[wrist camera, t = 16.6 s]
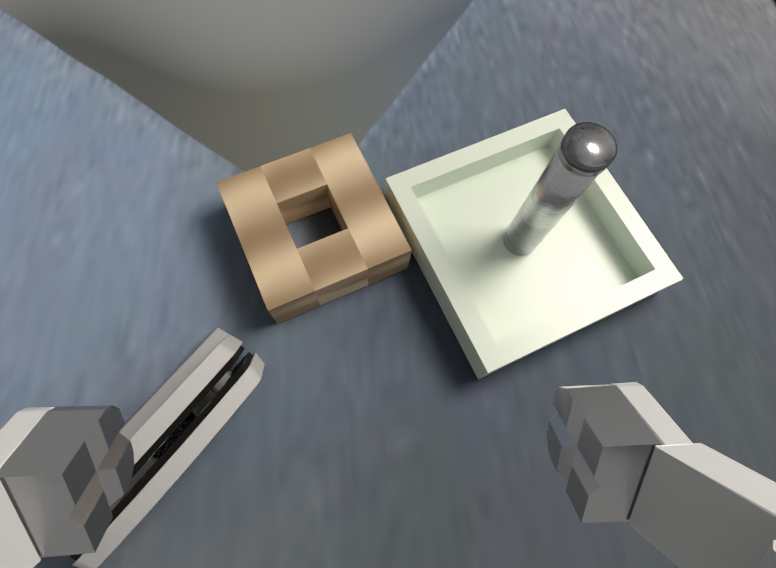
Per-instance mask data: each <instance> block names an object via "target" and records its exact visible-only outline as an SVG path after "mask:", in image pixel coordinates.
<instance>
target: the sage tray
mask: <svg viewBox="0 0 776 568" xmlns="http://www.w3.org/2000/svg"><path fill="white" fill-rule="evenodd" d="M573 125H575V122H574V121H573V119H572V118H571V116H570V115H569V114H568V112H567V111H566V109H563V110H561V111H558V112H556V113H553V114H550V115H548V116H545V117H543V118H540V119H538V120H535V121H532V122H530V123H527V124H525V125H522V126H520V127H517V128H514V129H512V130H509V131H507V132H504V133H502V134H499V135H496V136H494V137H491V138H489V139H486V140H483V141H481V142H478V143H476V144H473V145H471V146H468V147H465V148H463V149H460V150H458V151H455V152H453V153H450V154H447V155H445V156H442V157H440V158H437V159H435V160H432V161H429V162H427V163H424V164H422V165H419V166H417V167H414V168H411V169H409V170H406V171H404V172H401V173H399V174H396V175H393V176H391V177H388V178H386V182H385V200H386V202H387V204H388V206H389V207H390V209H391V211H392V213H393V215H394V217H395V219H396V221H397V223H398V225H399V227H400V229H401V231H402V233H403V234H404V236H405V238H406V240H407V242H408V244H409V246H410V248H411V250H412V253H413V255H414V257H415V259H416V261H417V263H418V265H419V266H420V268H421V270H422V272H423V274H424V276H425V278H426V280H427V282H428V284H429V286H430V288H431V290H432V292H433V294H434V295H435V297H436V299H437V301H438V303H439V305H440V307H441V309H442V311H443V313H444V315H445V317H446V319H447V321H448V322H449V324H450V326H451V328H452V330H453V332H454V334H455V336H456V338H457V340H458V342H459V344H460V346H461V348H462V349H463V351H464V353H465V355H466V357H467V359H468V361H469V363H470V365H471V367H472V369H473V371H474V373H475V375H476V377H477V378H478V379H480V378H482V377H484V376H487V375H489V374H491V373H493V372H495V371H497V370H499V369H501V368H503V367H505V366H507V365H509V364H511V363H513V362H515V361H517V360H520V359H522V358H524V357H526V356H528V355H530V354H532V353H534V352H536V351H538V350H540V349H542V348H544V347H546V346H548V345H551V344H553V343H555V342H557V341H559V340H561V339H563V338H565V337H567V336H569V335H571V334H573V333H575V332H577V331H579V330H582V329H584V328H586V327H588V326H590V325H592V324H594V323H596V322H598V321H600V320H602V319H604V318H606V317H608V316H610V315H613V314H615V313H617V312H619V311H621V310H623V309H625V308H627V307H629V306H631V305H633V304H635V303H637V302H639V301H641V300H643V299H646V298H648V297H650V296H652V295H654V294H656V293H658V292H660V291H662V290H664V289H665V288H667V287H669V286H671V285H673V284H675V283H676V282H678V281H680V280H682V279H683V278H682V276H681V275H680V273H679V272H678V270H677V269H676V268H675V266H674V265H673V263H672V262H671V260H670V259H669V258H668V256H667V255H666V253H665V252H664V250H663V249H662V247H661V246H660V245H659V243H658V242H657V240H656V239H655V237H654V236H653V234H652V233H651V232H650V230H649V229H648V227H647V226H646V224H645V223H644V222H643V220H642V219H641V217H640V216H639V214H638V213H637V211H636V210H635V209H634V207H633V206H632V204H631V203H630V201H629V200H628V198H627V197H626V196H625V194H624V193H623V191H622V190H621V188H620V187H619V186H618V184H617V183H616V181H615V180H614V178H613V177H612V175H611V174H610V173H609V171H608V170H607V168H606V169H605V170H604V171H603V172H602V173H601V174H599V175H598V176H597V177H596V179H595V180H594V181H593V182H592V183H591V184H590V186H589V187H588V188H587V189H586V190H585V191H584V193H583V194H582V195H581V196H580V197H579V199H578V200H577V201H576V202H575V203H574V204H573V206H572V207H571V208H570V209H569V210H568V211H567V213H566V214H565V215H564V216H563V217H562V219H561V220H560V221H559V222H558V223H557V224H556V226H555V227H554V228H553V229H552V230H551V231H550V233H549V234H548V235H547V236H546V237H545V239H544V240H543V241H542V242H541V243H540V244H539V246H538V247H537V248H536V249H535V250H534V251H533V252H532V253H531V254H529V255H527V256H517V255H514V254H512V253H511V252H509V251H508V250H507V248H506V247H505V245H504V242H503V235H504V233H505V231H506V229H507V228H508V226H509V225H510V223H511V221H512V220H513V218H514V217H515V215H516V214H517V212H518V210H519V209H520V207H521V206H522V204H523V203H524V201H525V199H526V198H527V196H528V195H529V193H530V192H531V190H532V188H533V187H534V185H535V184H536V182H537V181H538V179H539V177H540V176H541V174H542V173H543V171H544V170H545V168H546V166H547V165H548V163H549V162H550V160H551V159H552V157H553V156H554V154H555V152H556V151H557V149H558V146H559V143H560V142H561V140H562V138H563V137H564V135H565V134H566V132H567V131H568V129H569V128H570V127H572V126H573Z"/></svg>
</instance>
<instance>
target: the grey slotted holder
mask: <svg viewBox="0 0 776 568" xmlns="http://www.w3.org/2000/svg"><path fill="white" fill-rule="evenodd" d="M242 343H243V342H242V341H240V340H238V339H237V338H235V337H233V336H231V335H230V334H228V333H226V332H224V331H223V330H221V329H219V328H216V329H215V330H214V331H213V332H212V334H211V335H210V336H209V337H208V338H207V339H206V340H205V341H204V342H203V343H202V344H201V345H200V346H199V347H198V348H197V349H196V351H195V352H194V353H193V354H192V355H191V356H190V357H189V358H188V359H187V360H186V361H185V362H184V363H183V364H182V365H181V366H180V368H179V369H178V370H177V371H176V372H175V373H174V374H173V375H172V376H171V377H170V378H169V379H168V380H167V381H166V382H165V383H164V384H163V386H162V387H161V388H160V389H159V390H158V391H157V392H156V393H155V394H154V395H153V396H152V397H151V398H150V399H149V400H148V401H147V403H146V404H145V405H144V406H143V407H142V408H141V409H140V410H139V411H138V412H137V413H136V414H135V415H134V416H133V417H132V418H131V420H130V421H129V422H128V423H127V424H126V425H125V426H124V427H123V428H122V429H121V430H120V431H119V433H121V434H122V435H123V436H125V437H126V438H127V439H129V440H130V441H131V444H132V448H133V451H134V468H133V473H132V478H131V481H130V483H129V486H128V488H127V490H126V492H125V494H124V495H123V496H122V497H121V498H119V499H118V500H117V501H115V502H114V503H113V504H112V505H110V509H111V512H112V515H113V518H112V520H111V522H110V524H109V526H108V528H107V530H106V532H105V534H104V536H103V538H102V540H101V542H100V544H99V546H98V548H97V550H96V552H95V553H86V554H75V555H71V556H70V557H72V558H73V559H74V560H75V561H74V563H73V564H72V565H73V566H75V567H78V568H97V567H98V566H99V565H100V564H101V563H102V562H103V561H104V560H105V559H106V558H107V557H108V556H109V555H110V554H111V553H112V552H113V550H114V549H115V548H116V547H117V546H118V545H119V544H120V543H121V542H122V541H123V540H124V539H125V537H126V536H127V535H128V534H129V533H130V532H131V531H132V530H133V529H134V527H135V526H136V525H137V524H138V523H139V522H140V521H141V520H142V519H143V518H144V516H145V515H146V514H147V513H148V512H149V511H150V510H151V509H152V508H153V506H154V505H155V504H156V503H157V502H158V501H159V500H160V498H161V497H162V496H163V495H164V494H165V493H166V492H167V491H168V489H169V488H170V487H171V486H172V485H173V484H174V483H175V481H176V480H177V479H178V478H179V477H180V476H181V475H182V473H183V472H184V471H185V470H186V469H187V468H188V467H189V465H190V464H191V463H192V462H193V461H194V460H195V458H196V457H197V456H198V455H199V454H200V453H201V451H202V450H203V449H204V448H205V447H206V445H207V444H208V443H209V442H210V441H211V440H212V438H213V437H214V436H215V435H216V434H217V433H218V431H219V430H220V429H221V428H222V427H223V425H224V424H225V423H226V422H227V421H228V419H229V418H230V417H231V416H232V415H233V413H234V412H235V411H236V410H237V409H238V407H239V406H240V405H241V404H242V403H243V401H244V400H245V399H246V398H247V397H248V395H249V394H250V393H251V392H252V390H253V389H254V388H255V387H256V386H257V384H258V383H259V381H260V380H261V377H262V373H263V369H264V363H263V362H262V360H261V359H260V358H259V356H258V355H257V354H256V353H255V354H254V355H252V354H250V353H248V354H247V355H246V356H245V357H244V358H243V359H242V361H241V362H240V363H239V364H238V365H237V366H236V367H235V368H234V370H233V372H228V370H229V369H230V368H231V367H232V366H233V365H234V363H235V362H236V361H237V360H238V358H239V357H240V355H241V353H242V352H243V350H244V348H243V347H242V346H241V344H242ZM191 412H193V413H194V415H195V418H194V420H193V421H192V422H191V423H190V424H189V425H188V426H187V427H186V428H185V430H184V431H183V432H182V433H181V434H180V435H179V436H178V437H177V438H176V440H175V441H174V442H173V443H172V444H171V445H170V446H169V447H168V449H167V450H166V451H165V452H164V453H163V454H162V455H161V456H160V457H159V459H157V458H153V457H152V455H153V454H154V453H155V452H156V451H157V450H158V449H159V448H160V447H161V445H162V444H163V443H164V442H165V441H166V440H167V439H168V438H169V436H170V435H171V434H172V433H173V432H174V431H175V430H176V429H177V427H178V426H179V425H180V424H181V423H182V422H183V421H184V420H185V419H186V417H187V416H188V415H189V414H190V413H191Z"/></svg>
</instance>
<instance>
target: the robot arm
mask: <svg viewBox="0 0 776 568" xmlns="http://www.w3.org/2000/svg"><path fill="white" fill-rule="evenodd" d="M553 405H554V406H555V408H556V410H557V412H558V413H557V414H556V415H555V416H554V417H553V418H552V419H551V420H550V421H549V425H548V431H547V442H548V450H549V454H550V457H551V461H552V463H553V465H554V467H555V469H556V471H557V472H558V473H560V474H561V475H562V476H564V477H565V478H567V479H568V484H567V489H566V492H567V494H568V496H569V498H570V500H571V502H572V504H573V506H574V508H575V510H576V512H577V514H578V516H579V518H580V521H581V523H585V522H616V521H629V522H628V524H629V525H630V526H631V527H633V528H634V529H635V530H636V531H637V532H638V533H640V534H641V535H642V536H643V537H644V538H645V539H646V540H648V541H649V542H650V543H651V544H652V545H653V546H654V547H656V548H657V549H658V550H659V551H660V552H661V553H663V554H664V555H665V556H666V557H667V558H668V559H669V560H671V561H672V562H673V563H674V564H675V565H676V566H678V567H679V568H776V483H775V482H773V481H771V480H770V479H768V478H766V477H764V476H762V475H760V474H758V473H756V472H754V471H753V470H751V469H749V468H747V467H745V466H743V465H741V464H739V463H738V462H736V461H734V460H732V459H730V458H728V457H726V456H724V455H723V454H721V453H719V452H717V451H715V450H713V449H711V448H709V447H707V446H706V445H704V444H702V443H697V444H693V443H692V442H691V441H690V439H689V438H688V437H687V436H686V435H685V434H684V433H683V431H682V430H681V429H680V428H679V427H678V426H677V424H676V423H675V422H674V421H673V420H672V419H671V418H670V416H669V415H668V414H667V413H666V412H665V411H664V409H663V408H662V407H661V406H660V405H659V404H658V402H657V401H656V400H655V399H654V398H653V397H652V396H651V394H650V393H649V392H648V391H647V390H646V389H645V387H644V386H642V385H641V384H639V383H637V382H630V383H615V384H610V385H588V386H567V387H559V388H558V389H557V391H556V393H555V396H554V401H553ZM124 423H125V422H124V420H123V417H122V414H121V412H120V409H119V408H117V407H115V406H63V407H38V408H25V409H23V410H21V411H18V412H17V413H16V414H15V415H14V416H13V417H12V418H11V419H10V420H9V422H8V423H7V424H6V425H5V426H4V427H3V428H2V429H1V430H0V568H33V567H34V566H36V565H37V564H38V563H39V562H40V561H41V559H40V558H42V557H53V556H64V555H75V554H86V553H95V552H96V550H97V548H98V546H99V544H100V542H101V540H102V538H103V536H104V534H105V532H106V530H107V528H108V526H109V524H110V522H111V520H112V518H113V515H112V512H111V509H110V505H112V504H113V503H114V502H115V501H117V500H118V499H119V498H121V497H122V496H123V495H124V494H125V492H126V490H127V488H128V486H129V483H130V481H131V478H132V473H133V468H134V451H133V448H132V444H131V441H130V440H129V439H127V438H126V437H125V436H123V435H122V434H121V433H119V431H120V429H121V428H122V426H123V424H124Z"/></svg>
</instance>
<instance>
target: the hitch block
mask: <svg viewBox="0 0 776 568" xmlns="http://www.w3.org/2000/svg"><path fill="white" fill-rule="evenodd" d="M216 183H217V185H218V188H219V190H220V193H221V195H222V198H223V200H224V203H225V205H226V208H227V210H228V213H229V215H230V218H231V220H232V223H233V225H234V228H235V230H236V233H237V235H238V238H239V240H240V243H241V245H242V248H243V250H244V253H245V255H246V258H247V260H248V263H249V265H250V268H251V270H252V273H253V275H254V278H255V280H256V283H257V285H258V288H259V290H260V293H261V295H262V298H263V300H264V302H265V305H266V307H267V310H268V312H269V313H270V314H271V316H272V317H273V318H274V320H275V321H276V322H277V324H279V323H281V322H283V321H286V320H288V319H291V318H293V317H295V316H298V315H300V314H302V313H305V312H307V311H309V310H312V309H314V308H316V307H319V306H321V305H323V304H326V303H328V302H330V301H333V300H335V299H337V298H340V297H342V296H344V295H347V294H349V293H351V292H354V291H356V290H358V289H361V288H363V287H365V286H368V285H370V284H372V283H375V282H377V281H380V280H382V279H384V278H387V277H389V276H391V275H394V274H396V273H398V272H401V271H403V270H405V269H408V266H409V261H410V256H411V251H412V250H411V248H410V246H409V244H408V242H407V240H406V238H405V236H404V234H403V233H402V231H401V229H400V227H399V225H398V223H397V221H396V219H395V217H394V215H393V213H392V211H391V209H390V207H389V206H388V204H387V202H386V200H385V198H384V196H383V194H382V192H381V190H380V188H379V186H378V184H377V182H376V180H375V179H374V177H373V175H372V173H371V171H370V169H369V167H368V165H367V163H366V161H365V159H364V157H363V155H362V153H361V152H360V150H359V148H358V146H357V144H356V142H355V140H354V138H353V136H352V134H351V133H350V134H347V135H344V136H342V137H339V138H336V139H333V140H331V141H328V142H325V143H322V144H320V145H317V146H314V147H312V148H309V149H306V150H303V151H301V152H298V153H295V154H292V155H290V156H287V157H284V158H282V159H279V160H276V161H273V162H271V163H268V164H265V165H262V166H260V167H257V168H254V169H251V170H248V171H246V172H243V173H240V174H238V175H235V176H232V177H229V178H227V179H224V180H221V181H218V182H216ZM330 207H331V209H332V211H333V213H334V215H335V217H336V219H337V221H338V223H339V225H340V228H341V230H342V231H340V232H338V233H335V234H333V235H330V236H328V237H325V238H323V239H320V240H318V241H315V242H313V243H310V244H308V245H305V246H303V247H300V248H298V249H297V248H296V246H295V244H294V242H293V239H292V237H291V235H290V232H289V230H288V228H287V226H286V225H287V224H289V223H292V222H294V221H297V220H299V219H302V218H305V217H307V216H310V215H312V214H315V213H317V212H320V211H322V210H325V209H328V208H330Z"/></svg>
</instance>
